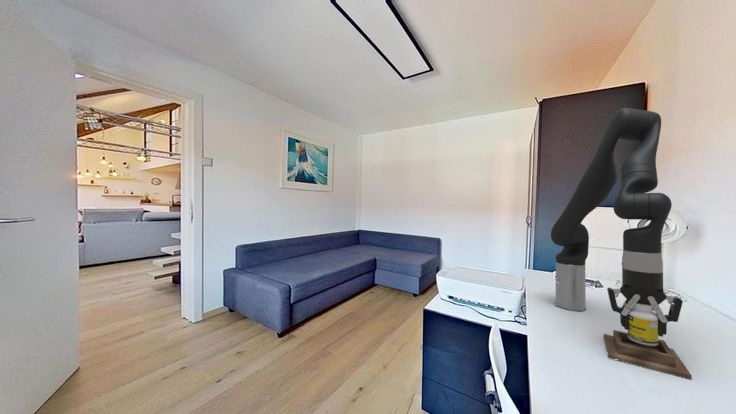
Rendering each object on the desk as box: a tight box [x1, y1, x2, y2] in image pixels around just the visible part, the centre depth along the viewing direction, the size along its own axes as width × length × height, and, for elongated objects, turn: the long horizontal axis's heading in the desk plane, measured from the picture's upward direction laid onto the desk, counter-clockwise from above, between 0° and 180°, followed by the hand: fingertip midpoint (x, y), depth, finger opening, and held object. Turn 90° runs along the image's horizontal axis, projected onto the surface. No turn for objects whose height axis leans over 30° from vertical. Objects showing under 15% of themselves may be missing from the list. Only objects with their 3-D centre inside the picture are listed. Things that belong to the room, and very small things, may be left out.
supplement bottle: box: [627, 303, 659, 346], centre depth 69 cm, size 6×6×10 cm
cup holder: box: [603, 329, 693, 381], centre depth 70 cm, size 14×14×4 cm
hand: (642, 331), depth 69 cm, fingers closed on supplement bottle, 5 cm apart
